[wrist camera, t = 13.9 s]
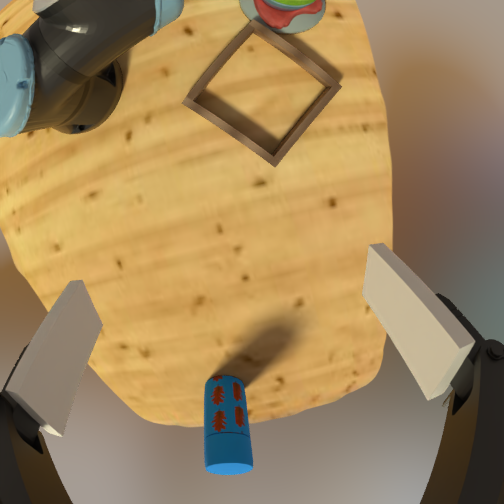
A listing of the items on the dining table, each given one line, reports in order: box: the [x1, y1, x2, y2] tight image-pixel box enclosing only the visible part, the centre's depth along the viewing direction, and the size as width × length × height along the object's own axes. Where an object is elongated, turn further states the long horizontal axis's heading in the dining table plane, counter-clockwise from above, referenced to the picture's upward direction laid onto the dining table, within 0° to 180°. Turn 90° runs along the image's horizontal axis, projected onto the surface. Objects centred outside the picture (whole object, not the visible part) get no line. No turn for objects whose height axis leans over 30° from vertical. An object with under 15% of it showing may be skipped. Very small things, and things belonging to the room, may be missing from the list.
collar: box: [182, 19, 342, 167], centre depth 36 cm, size 17×17×2 cm
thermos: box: [204, 375, 253, 475], centre depth 57 cm, size 11×11×25 cm
